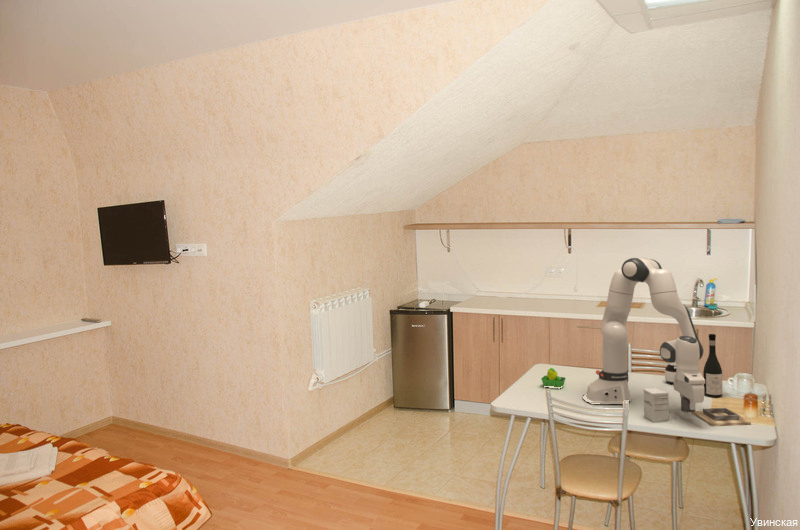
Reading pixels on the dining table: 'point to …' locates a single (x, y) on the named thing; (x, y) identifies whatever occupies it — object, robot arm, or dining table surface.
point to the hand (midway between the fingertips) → (687, 406)
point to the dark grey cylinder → (686, 405)
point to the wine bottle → (712, 371)
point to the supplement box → (656, 405)
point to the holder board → (721, 417)
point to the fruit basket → (553, 379)
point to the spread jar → (670, 372)
